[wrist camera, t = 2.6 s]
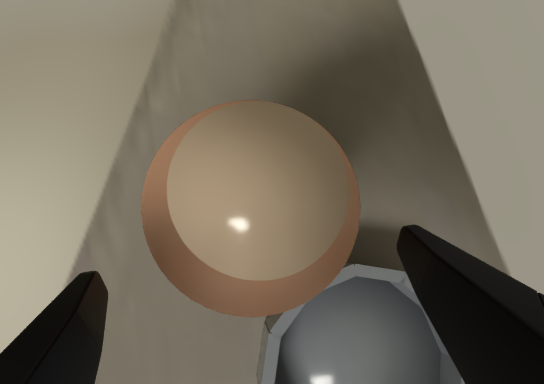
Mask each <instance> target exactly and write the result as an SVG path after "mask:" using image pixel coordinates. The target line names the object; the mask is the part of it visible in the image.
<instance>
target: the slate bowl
mask: <svg viewBox="0 0 544 384" xmlns="http://www.w3.org/2000/svg"><path fill="white" fill-rule="evenodd" d="M265 321H266V322H264V328H263V335H262V342H261V348H260V355H259V362H258V369H257V381H258V384H465V383H464V381H463V379H462V377H461V375H460V374H459V372H458V370H457V368H456V366H455V365H454V363H453V361H452V359H451V358H450V356H449V354H448V352H447V350H446V349H445V347H444V345H443V343H442V341H441V340H440V338H439V336H438V334H437V332H436V331H435V329H434V327H433V325H432V323H431V322H430V320H429V318H428V316H427V314H426V313H425V311H424V309H423V307H422V305H421V304H420V302H419V300H418V298H417V296H416V294H415V292H414V290H413V288H412V285H411V283H410V280H409V278H408V276H407V273H406V272H404V271H398V270H392V269H386V268H379V267H373V266H367V265H360V264H353V263H345V265H344V267H343V268H342V270H341V272H340V273H339V274H338V275H337V276H336V278H335V279H334V280H333V281H332V282H331V284H329V285H328V286H327V287H326V288H325V289H324V290H323V291H322V292H321V293H319V294H318V295H317V296H315V297H314V298H312V299H311V300H310V301H308V302H306V303H304V304H302V305H300V306H298V307H296V308H294V309H291V310H288V311H286V312H283V313H279V314H274V315H269V316H268V317H267V319H266V320H265Z"/></svg>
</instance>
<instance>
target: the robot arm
mask: <svg viewBox="0 0 544 384" xmlns="http://www.w3.org/2000/svg"><path fill="white" fill-rule="evenodd" d="M397 252H398V255H399V257H400V259H401V262H402V264H403V266H404V269H405V271H406V273H407V276H408V278H409V280H410V283H411V285H412V288H413V290H414V292H415V294H416V296H417V298H418V300H419V302H420V304H421V305H422V307H423V309H424V311H425V313H426V314H427V316H428V318H429V320H430V322H431V323H432V325H433V327H434V329H435V331H436V332H437V334H438V336H439V338H440V340H441V341H442V343H443V345H444V347H445V349H446V350H447V352H448V354H449V356H450V358H451V359H452V361H453V363H454V365H455V366H456V368H457V370H458V372H459V374H460V375H461V377H462V379H463V381H464V383H465V384H544V295H543V294H541V293H537V291H536V290H534V289H532V288H530V287H528V286H526V285H525V284H523V283H521V282H519V281H517V280H516V279H514V278H512V277H510V276H508V275H507V274H505V273H503V272H501V271H499V270H497V269H496V268H494V267H492V266H490V265H488V264H487V263H485V262H483V261H481V260H479V259H478V258H476V257H474V256H472V255H470V254H469V253H467V252H465V251H463V250H461V249H459V248H458V247H456V246H454V245H452V244H450V243H449V242H447V241H445V240H443V239H441V238H440V237H438V236H436V235H434V234H432V233H430V232H429V231H427V230H425V229H423V228H421V227H420V226H418V225H408V226H403V227H402V228H401V231H400V235H399V238H398V242H397ZM107 302H108V291H107V288H106V286H105V284H104V282H103V280H102V278H101V276H100V274H99V273H98V272H97V271H89V272H83V273H80V274H79V275H78V276H77V277H76V278H75V279H74V280H73V281H72V282H71V283H70V284H69V285H68V286H67V287H66V288H65V289H64V290H63V291H62V292H61V293H60V294H59V295H58V296H57V297H56V298H55V299H54V300H53V301H52V302H51V303H50V304H49V305H48V306H47V307H46V308H45V309H44V310H43V311H42V312H41V313H40V314H39V315H38V316H37V317H36V318H35V319H34V320H33V321H32V322H31V323H30V324H29V325H28V326H27V327H26V328H25V329H24V330H23V331H22V332H21V333H20V335H18V336H17V337H16V338H15V339H14V340H13V341H12V342H11V343H10V345H8V346H7V347H6V349H4V350H3V352H2V353H0V384H95V379H96V375H97V371H98V366H99V362H100V357H101V352H102V346H103V338H104V329H105V320H106V311H107Z"/></svg>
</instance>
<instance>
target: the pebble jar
mask: <svg viewBox="0 0 544 384" xmlns="http://www.w3.org/2000/svg"><path fill="white" fill-rule="evenodd" d="M141 213H142V222H143V229H144V233H145V237H146V241H147V244H148V246H149V248H150V251H151V253H152V256H153V257H154V259H155V261H156V263H157V264H158V266H159V268H160V269H161V271H162V272H163V273H164V274H165V276H166V277H167V278H168V280H169V281H170V282H171V283H172V284H173V285H174V286H175V287H176V288H177V289H179V290H180V291H181V292H182V293H183V294H185V295H186V296H188V297H189V298H190V299H192V300H193V301H195V302H197V303H199V304H201V305H203V306H204V307H206V308H209V309H212V310H214V311H217V312H220V313H224V314H229V315H233V316H242V317H261V316H269V315H274V314H279V313H283V312H286V311H288V310H291V309H294V308H296V307H298V306H300V305H302V304H304V303H306V302H308V301H310V300H311V299H312V298H314V297H315V296H317V295H318V294H319V293H321V292H322V291H323V290H324V289H325V288H326V287H327V286H328V285H329V284H331V282H332V281H333V280H334V279H335V278H336V276H337V275H338V274H339V273H340V272H341V270H342V268H343V267H344V265H345V263H346V262H347V260H348V258H349V256H350V254H351V252H352V249H353V247H354V244H355V241H356V238H357V234H358V229H359V223H360V195H359V189H358V185H357V180H356V177H355V174H354V171H353V169H352V166H351V164H350V162H349V160H348V158H347V156H346V154H345V153H344V151H343V150H342V148H341V147H340V145H339V144H338V142H337V141H336V140H335V139H334V138H333V137H332V136H331V134H330V133H329V132H328V131H326V130H325V129H324V128H323V127H322V126H321V125H320V124H318V123H317V122H316V121H314V120H313V119H311V118H310V117H309V116H307V115H305V114H303V113H301V112H299V111H297V110H295V109H293V108H290V107H288V106H285V105H281V104H277V103H273V102H267V101H260V100H242V101H233V102H228V103H224V104H220V105H217V106H214V107H211V108H209V109H206V110H204V111H202V112H200V113H198V114H196V115H194V116H193V117H191V118H190V119H188V120H187V121H186V122H184V123H183V124H181V125H180V126H179V127H178V128H177V129H176V130H175V131H174V132H173V133H172V134H171V135H170V136H169V137H168V138H167V139H166V141H165V142H164V143H163V144H162V146H161V147H160V149H159V150H158V152H157V154H156V155H155V157H154V159H153V161H152V163H151V165H150V168H149V170H148V173H147V176H146V179H145V183H144V188H143V194H142V212H141Z"/></svg>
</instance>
